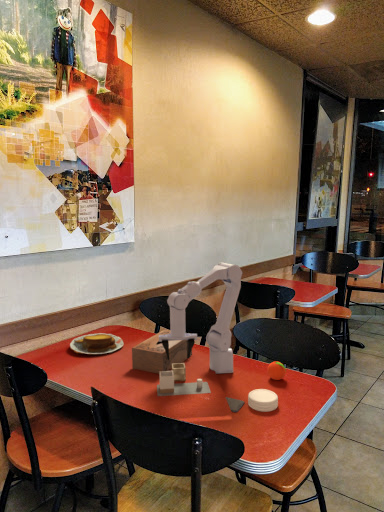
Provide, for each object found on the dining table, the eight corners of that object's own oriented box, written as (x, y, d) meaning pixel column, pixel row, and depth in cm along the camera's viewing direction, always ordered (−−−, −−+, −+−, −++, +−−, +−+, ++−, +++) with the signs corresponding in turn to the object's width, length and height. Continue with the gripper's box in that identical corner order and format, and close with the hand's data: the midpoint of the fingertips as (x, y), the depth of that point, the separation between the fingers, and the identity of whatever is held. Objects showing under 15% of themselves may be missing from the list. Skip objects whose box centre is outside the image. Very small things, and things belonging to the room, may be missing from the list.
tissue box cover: (162, 377, 160) (162, 353, 158) (132, 371, 166) (131, 347, 165) (192, 355, 182) (191, 334, 181) (164, 350, 189) (164, 329, 187)
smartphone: (206, 392, 145) (245, 400, 138) (206, 394, 146) (245, 403, 138) (196, 401, 139) (236, 411, 132) (196, 404, 139) (236, 413, 132)
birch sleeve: (184, 377, 159) (184, 362, 158) (185, 383, 154) (185, 368, 153) (171, 378, 158) (171, 363, 157) (172, 383, 153) (172, 368, 152)
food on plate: (113, 335, 210) (113, 323, 210) (132, 350, 189) (131, 337, 188) (63, 344, 198) (63, 331, 197) (77, 361, 176) (77, 347, 175)
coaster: (284, 406, 136) (284, 397, 135) (262, 415, 130) (262, 405, 130) (263, 395, 144) (263, 385, 144) (242, 402, 139) (242, 393, 138)
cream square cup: (173, 386, 149) (173, 370, 148) (174, 392, 144) (173, 376, 143) (159, 386, 149) (159, 371, 148) (160, 393, 144) (159, 377, 143)
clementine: (291, 380, 156) (291, 362, 155) (280, 385, 151) (281, 367, 150) (274, 373, 161) (274, 356, 160) (263, 379, 157) (263, 361, 156)
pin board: (207, 384, 153) (207, 374, 152) (211, 395, 144) (210, 384, 143) (156, 387, 151) (156, 377, 150) (157, 398, 142) (157, 388, 141)
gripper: (158, 328, 148) (159, 363, 150) (198, 326, 150) (198, 361, 152) (158, 322, 155) (159, 356, 157) (195, 320, 157) (196, 354, 159)
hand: (178, 358), depth 155 cm, fingers open, 7 cm apart
